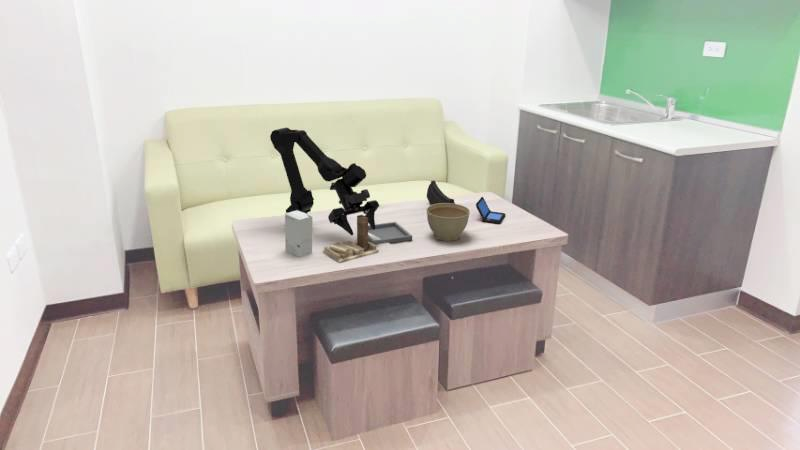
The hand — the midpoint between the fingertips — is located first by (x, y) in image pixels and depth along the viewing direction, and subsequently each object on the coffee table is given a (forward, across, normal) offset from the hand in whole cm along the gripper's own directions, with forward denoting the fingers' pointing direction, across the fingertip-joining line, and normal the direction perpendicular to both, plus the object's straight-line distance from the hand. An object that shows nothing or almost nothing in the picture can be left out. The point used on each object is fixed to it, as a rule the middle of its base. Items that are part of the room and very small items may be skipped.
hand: (363, 232), depth 205 cm
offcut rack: (+5, -5, +6) cm, 9 cm away
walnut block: (+5, 0, +6) cm, 8 cm away
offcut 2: (+4, -9, +5) cm, 11 cm away
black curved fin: (-5, +50, +16) cm, 52 cm away
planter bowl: (+10, +34, +1) cm, 35 cm away
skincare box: (-2, -20, +13) cm, 24 cm away
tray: (0, +15, +11) cm, 18 cm away
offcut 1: (+3, -9, +4) cm, 10 cm away
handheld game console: (+6, +63, +5) cm, 63 cm away
